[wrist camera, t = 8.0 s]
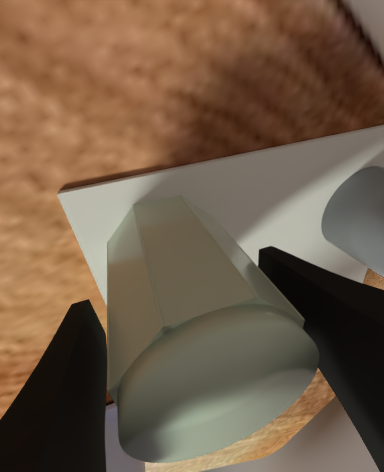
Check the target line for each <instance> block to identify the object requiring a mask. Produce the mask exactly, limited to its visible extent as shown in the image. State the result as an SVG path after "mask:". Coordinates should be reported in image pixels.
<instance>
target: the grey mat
mask: <svg viewBox="0 0 384 472" xmlns="http://www.w3.org/2000/svg"><path fill="white" fill-rule="evenodd" d="M371 166H380V167H384V125H380V126H375V127H370V128H365V129H360V130H355V131H351V132H346V133H341V134H336V135H331V136H326V137H321V138H316V139H311V140H306V141H301V142H297V143H292V144H287V145H282V146H277V147H272V148H267V149H262V150H257V151H252V152H248V153H243V154H238V155H233V156H228V157H223V158H218V159H213V160H208V161H203V162H198V163H194V164H189V165H184V166H179V167H174V168H169V169H164V170H159V171H154V172H149V173H145V174H140V175H135V176H130V177H125V178H120V179H115V180H110V181H105V182H100V183H95V184H91V185H86V186H81V187H76V188H71V189H66V190H61V191H58V193H57V195H58V198H59V200H60V202H61V204H62V207H63V209H64V211H65V213H66V216H67V218H68V220H69V222H70V225H71V227H72V229H73V231H74V234H75V236H76V238H77V240H78V243H79V245H80V247H81V249H82V252H83V254H84V256H85V258H86V261H87V263H88V265H89V267H90V270H91V272H92V274H93V276H94V279H95V281H96V283H97V285H98V288H99V290H100V292H101V294H102V297H103V299H104V301H105V303H106V306H107V242H108V241H109V239H110V238H111V236H112V235H113V234H114V232H115V231H116V229H117V228H118V226H119V225H120V223H121V222H122V220H123V219H124V217H125V216H126V214H127V213H128V212H129V210H130V209H131V207H132V205H136V204H141V203H146V202H150V201H155V200H160V199H164V198H169V197H174V196H178V195H181V196H182V197H184V198H185V199H187V200H188V201H190V202H191V203H193V204H194V205H196V206H197V207H199V208H200V209H202V210H203V211H205V212H206V213H208V214H209V215H211V216H212V217H214V218H215V219H216V220H217V221H218V222H219V224H220V225H221V226H222V227H223V228H224V229H225V230H226V231H227V233H228V234H229V235H230V236H231V237H232V238H233V239H234V240H235V242H236V243H237V244H238V245H239V246H240V247H241V248H242V249H243V251H244V252H245V253H246V254H247V255H248V256H249V257H250V258H251V260H252V261H253V262H254V263H255V264H256V265H257V266H258V256H259V249H262V248H265V247H269V246H273V247H276V248H278V249H280V250H283V251H285V252H287V253H289V254H292V255H294V256H296V257H298V258H300V259H303V260H305V261H307V262H309V263H312V264H314V265H316V266H319V267H321V268H323V269H326V270H328V271H331V272H333V273H336V274H338V275H341V276H344V277H346V278H349V279H351V280H354V281H357V282H360V283H363V280H364V277H365V275H366V272H367V269H368V267H366V266H365V265H363V264H362V263H360V262H359V261H357V260H356V259H354V258H352V257H351V256H349V255H348V254H346V253H345V252H343V251H342V250H340V249H339V248H337V247H336V246H334V245H333V244H331V243H330V242H328V241H327V240H326V239H325V238H324V236H323V234H322V229H321V222H322V216H323V213H324V210H325V207H326V205H327V203H328V201H329V200H330V198H331V196H332V195H333V194H334V192H335V191H336V190H337V188H338V187H339V186H340V185H341V184H342V183H343V182H344V181H345V180H346V179H348V178H349V177H350V176H351V175H353V174H354V173H356V172H358V171H360V170H362V169H364V168H367V167H371Z"/></svg>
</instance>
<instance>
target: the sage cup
mask: <svg viewBox="0 0 384 472" xmlns="http://www.w3.org/2000/svg"><path fill="white" fill-rule="evenodd" d="M304 321H305V319H304V318H303V317H302V316H301V314H300V313H299V312H298V311H297V310H296V309H295V308H294V307H293V306H292V304H291V303H290V302H289V301H288V300H287V299H286V298H285V297H284V295H283V294H282V293H281V292H280V291H279V290H278V289H277V288H276V286H275V285H274V284H273V283H272V282H271V281H270V280H269V279H268V277H267V276H266V275H265V274H264V273H263V272H262V271H261V270H260V268H259V267H258V266H257V265H256V264H255V263H254V262H253V261H252V260H251V258H250V257H249V256H248V255H247V254H246V253H245V252H244V251H243V249H242V248H241V247H240V246H239V245H238V244H237V243H236V242H235V240H234V239H233V238H232V237H231V236H230V235H229V234H228V233H227V231H226V230H225V229H224V228H223V227H222V226H221V225H220V224H219V222H218V221H217V220H216V219H215V218H214V217H212V216H211V215H209V214H208V213H206V212H205V211H203V210H202V209H200V208H199V207H197V206H196V205H194V204H193V203H191V202H190V201H188V200H187V199H185V198H184V197H182V196H181V195H178V196H174V197H169V198H164V199H160V200H155V201H150V202H146V203H141V204H136V205H132V207H131V209H130V210H129V212H128V213H127V214H126V216H125V217H124V219H123V220H122V222H121V223H120V225H119V226H118V228H117V229H116V231H115V232H114V234H113V235H112V236H111V238H110V239H109V241H108V242H107V392H108V393H109V394H110V395H111V397H112V399H113V401H114V402H115V404H116V406H117V413H118V437H119V443H120V445H121V448H122V449H123V450H124V451H125V453H126V454H128V455H129V456H131V457H132V458H135V459H137V460H140V461H145V462H152V463H168V462H177V461H183V460H188V459H192V458H196V457H200V456H203V455H206V454H209V453H212V452H215V451H217V450H220V449H223V448H225V447H227V446H230V445H232V444H234V443H236V442H238V441H240V440H242V439H244V438H246V437H248V436H249V435H251V434H253V433H255V432H256V431H258V430H260V429H261V428H263V427H264V426H266V425H267V424H269V423H270V422H271V421H273V420H274V419H276V418H277V417H278V416H279V415H281V414H282V413H283V412H284V411H285V410H287V409H288V408H289V407H290V406H291V405H292V404H293V403H294V402H295V401H296V400H297V399H298V398H299V397H300V396H301V395H302V393H303V392H304V391H305V390H306V388H307V387H308V386H309V384H310V383H311V381H312V379H313V377H314V376H315V373H316V371H317V368H318V364H319V351H318V348H317V346H316V344H315V342H314V341H313V340H312V339H311V338H310V336H309V335H308V334H307V333H306V332H305V331H304V329H303V325H304Z"/></svg>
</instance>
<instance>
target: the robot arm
mask: <svg viewBox="0 0 384 472" xmlns="http://www.w3.org/2000/svg"><path fill="white" fill-rule="evenodd" d="M258 267H259V268H260V270H261V271H262V272H263V273H264V274H265V275H266V276H267V277H268V279H269V280H270V281H271V282H272V283H273V284H274V285H275V286H276V288H277V289H278V290H279V291H280V292H281V293H282V294H283V295H284V297H285V298H286V299H287V300H288V301H289V302H290V303H291V304H292V306H293V307H294V308H295V309H296V310H297V311H298V312H299V313H300V314H301V316H302V317H303V318H304V319H305V321H304V325H303V329H304V331H305V332H306V333H307V334H308V335H309V336H310V338H311V339H312V340H313V341H314V342H315V344H316V346H317V348H318V351H319V364H318V368H319V369H320V371H321V373H322V374H323V376H324V377H325V379H326V380H327V382H328V383H329V385H330V387H331V388H332V390H333V391H334V393H335V394H336V396H337V397H338V399H339V401H340V402H341V404H342V406H343V407H344V409H345V411H346V412H347V414H348V416H349V417H350V419H351V421H352V423H353V424H354V426H355V427H356V429H357V431H358V433H359V434H360V436H361V438H362V440H363V442H364V443H365V445H366V447H367V449H368V451H369V452H370V454H371V456H372V458H373V459H374V461H375V463H376V465H377V467H378V469H379V471H380V472H384V290H381V289H378V288H375V287H372V286H369V285H366V284H363V283H360V282H357V281H354V280H351V279H349V278H346V277H344V276H341V275H338V274H336V273H333V272H331V271H328V270H326V269H323V268H321V267H319V266H316V265H314V264H312V263H309V262H307V261H305V260H303V259H300V258H298V257H296V256H294V255H292V254H289V253H287V252H285V251H283V250H280V249H278V248H276V247H273V246H269V247H265V248H262V249H259V256H258ZM106 388H107V345H106V334H105V331H104V329H103V327H102V325H101V323H100V321H99V319H98V317H97V315H96V313H95V311H94V309H93V307H92V305H91V303H90V301H89V299H88V300H85V301H81V302H78V303H74V304H72V305H71V307H70V308H69V310H68V312H67V314H66V315H65V317H64V319H63V321H62V323H61V325H60V326H59V328H58V330H57V332H56V334H55V335H54V337H53V339H52V341H51V342H50V344H49V346H48V348H47V349H46V351H45V353H44V354H43V356H42V358H41V359H40V361H39V363H38V364H37V366H36V368H35V369H34V371H33V372H32V374H31V375H30V377H29V378H28V380H27V382H26V383H25V385H24V386H23V388H22V389H21V391H20V392H19V394H18V395H17V397H16V398H15V400H14V401H13V403H12V404H11V406H10V407H9V409H8V410H7V411H6V413H5V414H4V416H3V417H2V418H1V420H0V472H145V463H144V461H140V460H137V459H135V458H132V457H131V456H129V455H128V454H126V453H125V451H124V450H123V449H122V448H121V445H120V443H119V437H118V413H117V406H116V404H115V403H113V404H110V405H107V406H106Z"/></svg>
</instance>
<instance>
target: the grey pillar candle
mask: <svg viewBox="0 0 384 472" xmlns="http://www.w3.org/2000/svg"><path fill="white" fill-rule="evenodd" d="M321 229H322V234H323V236H324V238H325V239H326V240H327V241H328V242H330V243H331V244H333V245H334V246H336V247H337V248H339V249H340V250H342V251H343V252H345V253H346V254H348V255H349V256H351V257H352V258H354V259H356V260H357V261H359V262H360V263H362V264H363V265H365V266H366V267H368V268H369V269H371V270H372V271H374V272H375V273H377V274H378V275H380V276H381V277H383V278H384V167H380V166H371V167H367V168H364V169H362V170H360V171H358V172H356V173H354V174H353V175H351V176H350V177H349V178H348V179H346V180H345V181H344V182H343V183H342V184H341V185H340V186H339V187H338V188H337V190H336V191H335V192H334V194H333V195H332V196H331V198H330V200H329V201H328V203H327V205H326V207H325V210H324V213H323V216H322V222H321Z"/></svg>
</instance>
